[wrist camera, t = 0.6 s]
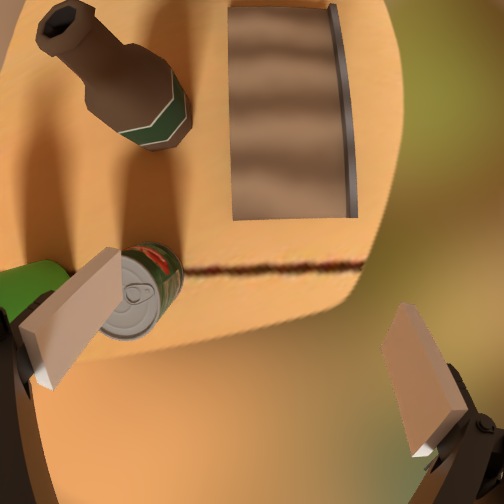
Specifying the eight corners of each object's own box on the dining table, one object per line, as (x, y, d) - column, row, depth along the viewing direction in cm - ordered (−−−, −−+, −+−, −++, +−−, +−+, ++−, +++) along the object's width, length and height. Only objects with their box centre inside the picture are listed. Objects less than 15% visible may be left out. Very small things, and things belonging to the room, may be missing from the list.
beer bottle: (177, 80, 34) (102, -50, 10) (206, 131, 35) (146, 20, 11) (122, 114, 35) (-3, 27, 11) (148, 165, 35) (17, 114, 12)
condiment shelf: (228, 19, 33) (227, 0, 29) (329, 21, 33) (337, 4, 29) (234, 219, 36) (232, 221, 32) (346, 216, 37) (359, 217, 32)
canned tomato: (133, 312, 38) (96, 347, 27) (113, 251, 37) (68, 267, 26) (192, 298, 38) (172, 332, 27) (173, 233, 37) (144, 244, 26)
